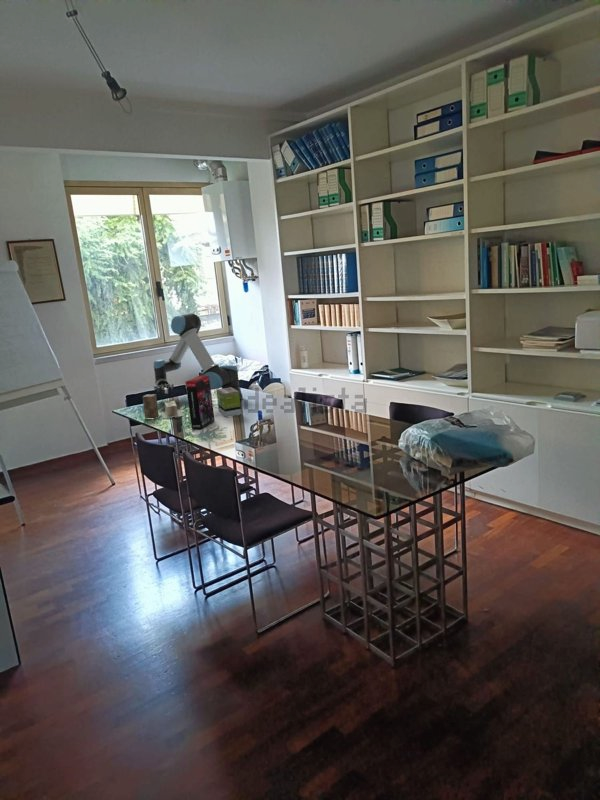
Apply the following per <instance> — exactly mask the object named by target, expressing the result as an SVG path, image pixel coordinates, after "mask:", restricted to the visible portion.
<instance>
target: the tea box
mask: <svg viewBox="0 0 600 800" xmlns="http://www.w3.org/2000/svg"><path fill="white" fill-rule="evenodd" d="M215 391H216V397H217V398H216V399H217V406H218V407H217V408H218V413H220V414H221V415H222V416H224V417H225V418H229V417H228V416H232V417H235V416H234V415H237V416H241V415H242V405H241V400H240V395H239V391H237V390H235V389H234V388H232V387H229V388H223V389H222V388H219V389H215ZM240 414H241V415H240Z"/></svg>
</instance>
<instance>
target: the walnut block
mask: <svg viewBox="0 0 600 800" xmlns="http://www.w3.org/2000/svg"><path fill="white" fill-rule="evenodd" d="M142 403H143V413H144V419H145V418H156V417H157V418H159V417H160V416H159V415H160V414H159V407H158V399H157V394H156V393H155V394H154V393H153V394H145V395H143V396H142ZM158 416H159V417H158ZM157 418H156V419H157Z"/></svg>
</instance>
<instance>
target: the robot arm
mask: <svg viewBox="0 0 600 800" xmlns="http://www.w3.org/2000/svg"><path fill="white" fill-rule="evenodd" d="M201 327H202V320H201V318H200V317H199V316H198V314H196V313H192V312H191V313H189V312H188V313H185V314H178V315H175V316H173V317H172V319H171V323H170V329H171V331H172V332H173V333H174V334H176V335H178V336H179V337H180V339H179V340H178V342H177V343H176V346H175V348H174V349H173V351H172V353H171V355H170V357H169V358H168V360H166V361H165V359H156V360H154V361H153V369H154V379H155V385H154V386H153V389H154V391H157V392H160V393H162V394H165V395H166V394H167V395H168V394H169V392H170V391H171V392H172V390H173V389H174V388H175V387H174V384H173V383H171V384H169V382H168V380H167V373H169V372H173V371H177V370H180V368H181V367H182V360H183V358H184V356H185V354H186V352H187V350H188V349H190V351H191V352H192V354H193V355H194V357H195V359H196V361H197V363H198V364H199V366H200V367H201V369H202V376H209V380H210V388H211V391H212V390H218V389H223V388H229V387H232V388H234V389H235V390H237V391H239V395H240V399H241V400H243V399H242V398H244V397H243V393H242V391H241V388H240V382H239V370H238V366H237V365H231V364H230V365H229V364H228V365H226V364H224V365H219V364H218V363H215V362H214V360H213V358H212V357H211V355H210V353H209V351H208V350H207V348H206V346H205V345H204V343H203V341H202V340H201V339H200V337H199V335H198V334H199V332H200V329H201Z"/></svg>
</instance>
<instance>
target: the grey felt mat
mask: <svg viewBox="0 0 600 800" xmlns="http://www.w3.org/2000/svg"><path fill="white" fill-rule="evenodd" d="M177 412H178V415H176V416H169V417H168V416H167V413H166V411H160V414H161V417H162V419H163V418H168V419H174V418H173V417H175V418H181V416H183V417H184V414H183V413H182V410H181V409H177Z"/></svg>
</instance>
